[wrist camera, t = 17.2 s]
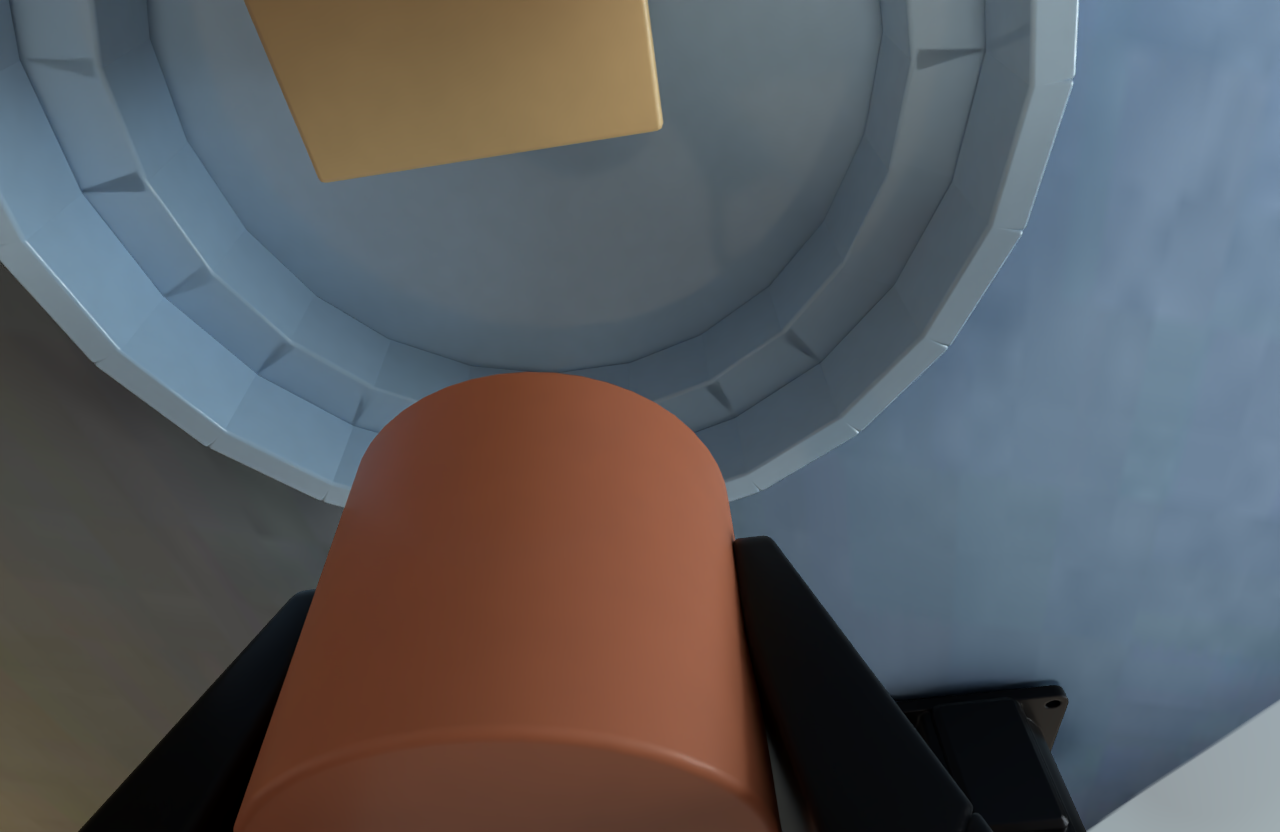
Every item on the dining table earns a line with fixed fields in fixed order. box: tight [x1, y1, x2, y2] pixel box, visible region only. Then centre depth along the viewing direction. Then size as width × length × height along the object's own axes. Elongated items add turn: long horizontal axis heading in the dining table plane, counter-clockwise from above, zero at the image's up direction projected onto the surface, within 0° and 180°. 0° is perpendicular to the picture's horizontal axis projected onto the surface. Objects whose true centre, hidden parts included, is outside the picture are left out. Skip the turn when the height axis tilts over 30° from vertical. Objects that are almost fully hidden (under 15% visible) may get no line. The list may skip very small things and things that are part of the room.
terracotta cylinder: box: [233, 372, 782, 832], centre depth 8 cm, size 4×4×4 cm
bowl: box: [0, 0, 1079, 508], centre depth 13 cm, size 15×15×4 cm
